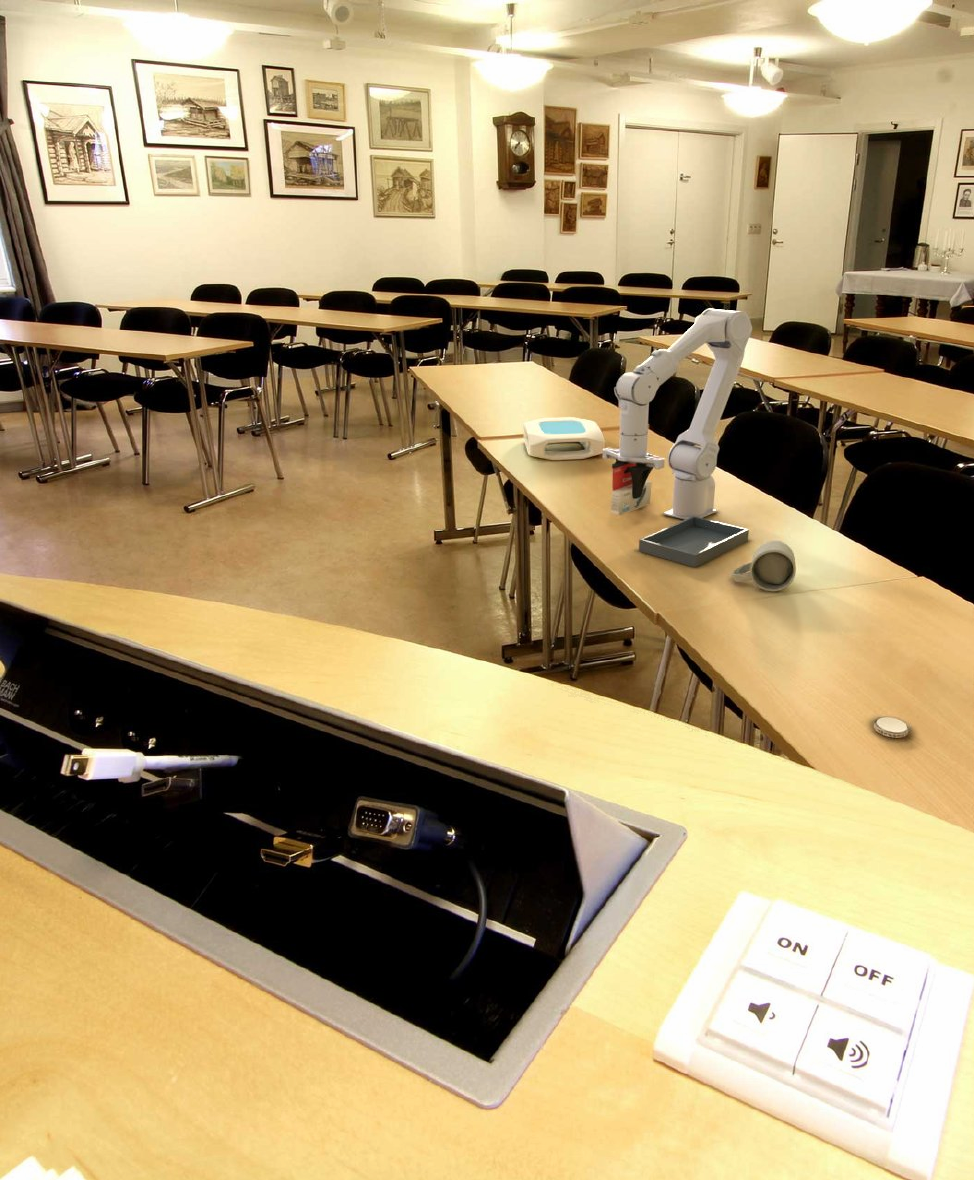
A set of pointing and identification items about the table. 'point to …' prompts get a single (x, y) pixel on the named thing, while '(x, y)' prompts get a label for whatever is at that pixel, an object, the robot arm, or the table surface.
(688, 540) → the tray
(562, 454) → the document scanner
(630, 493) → the ink cartridge box
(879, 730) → the bottle cap
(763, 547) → the ceramic mug
